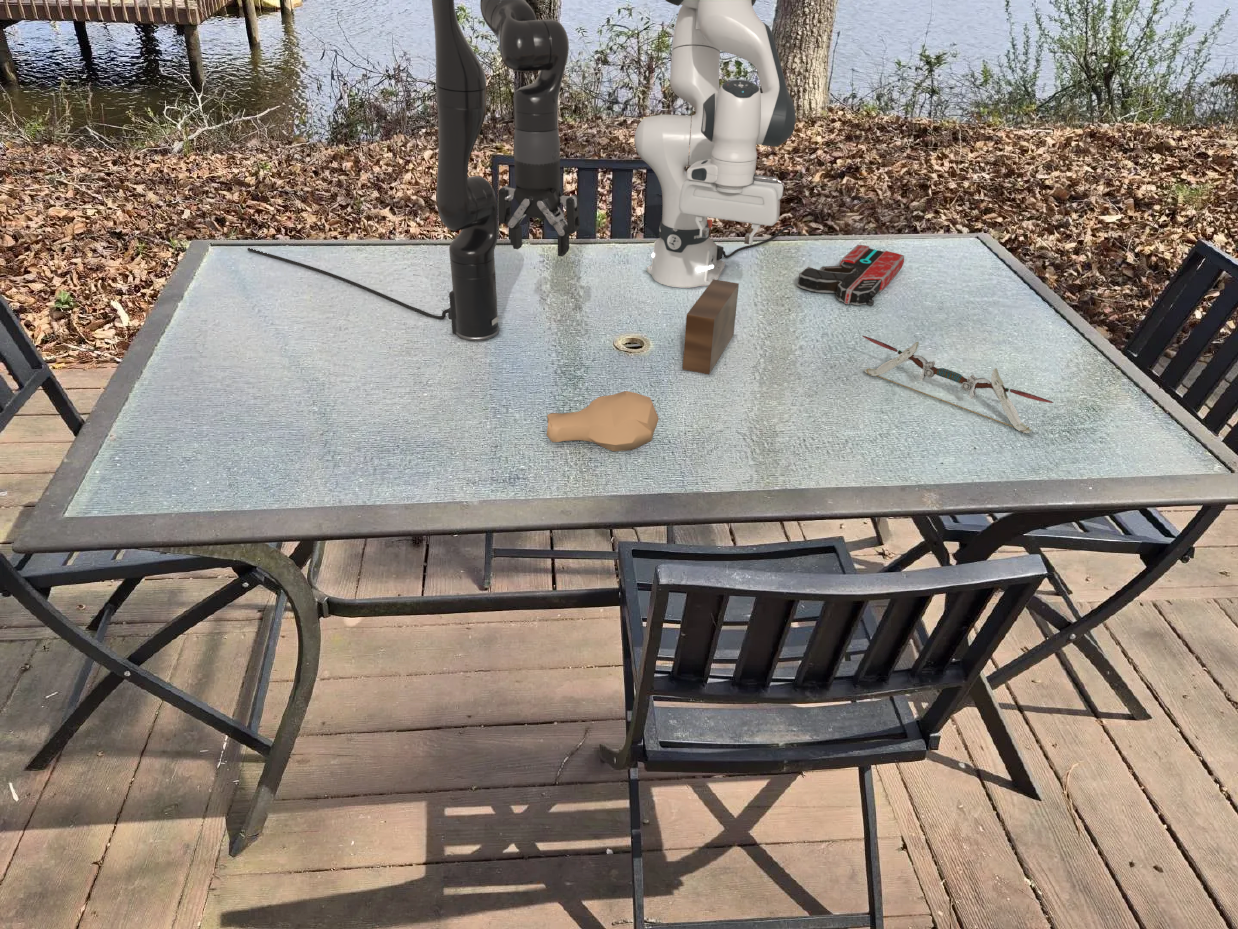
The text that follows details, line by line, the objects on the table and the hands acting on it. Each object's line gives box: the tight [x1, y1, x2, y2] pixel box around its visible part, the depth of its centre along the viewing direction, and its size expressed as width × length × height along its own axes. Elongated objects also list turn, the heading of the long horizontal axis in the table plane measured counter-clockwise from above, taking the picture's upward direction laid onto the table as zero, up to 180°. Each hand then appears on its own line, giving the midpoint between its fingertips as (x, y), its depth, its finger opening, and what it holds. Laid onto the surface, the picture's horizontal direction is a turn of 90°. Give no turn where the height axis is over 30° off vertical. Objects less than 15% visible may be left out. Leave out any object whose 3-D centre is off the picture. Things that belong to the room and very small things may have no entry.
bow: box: [861, 335, 1054, 434], centre depth 169 cm, size 39×2×10 cm, turn 47°
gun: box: [796, 244, 905, 307], centre depth 222 cm, size 4×31×19 cm
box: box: [682, 279, 740, 375], centre depth 184 cm, size 20×6×12 cm, turn 159°
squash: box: [545, 390, 660, 452], centre depth 154 cm, size 11×20×9 cm, turn 90°
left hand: (539, 251), depth 152 cm, fingers open, 8 cm apart
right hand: (726, 240), depth 180 cm, fingers open, 8 cm apart
